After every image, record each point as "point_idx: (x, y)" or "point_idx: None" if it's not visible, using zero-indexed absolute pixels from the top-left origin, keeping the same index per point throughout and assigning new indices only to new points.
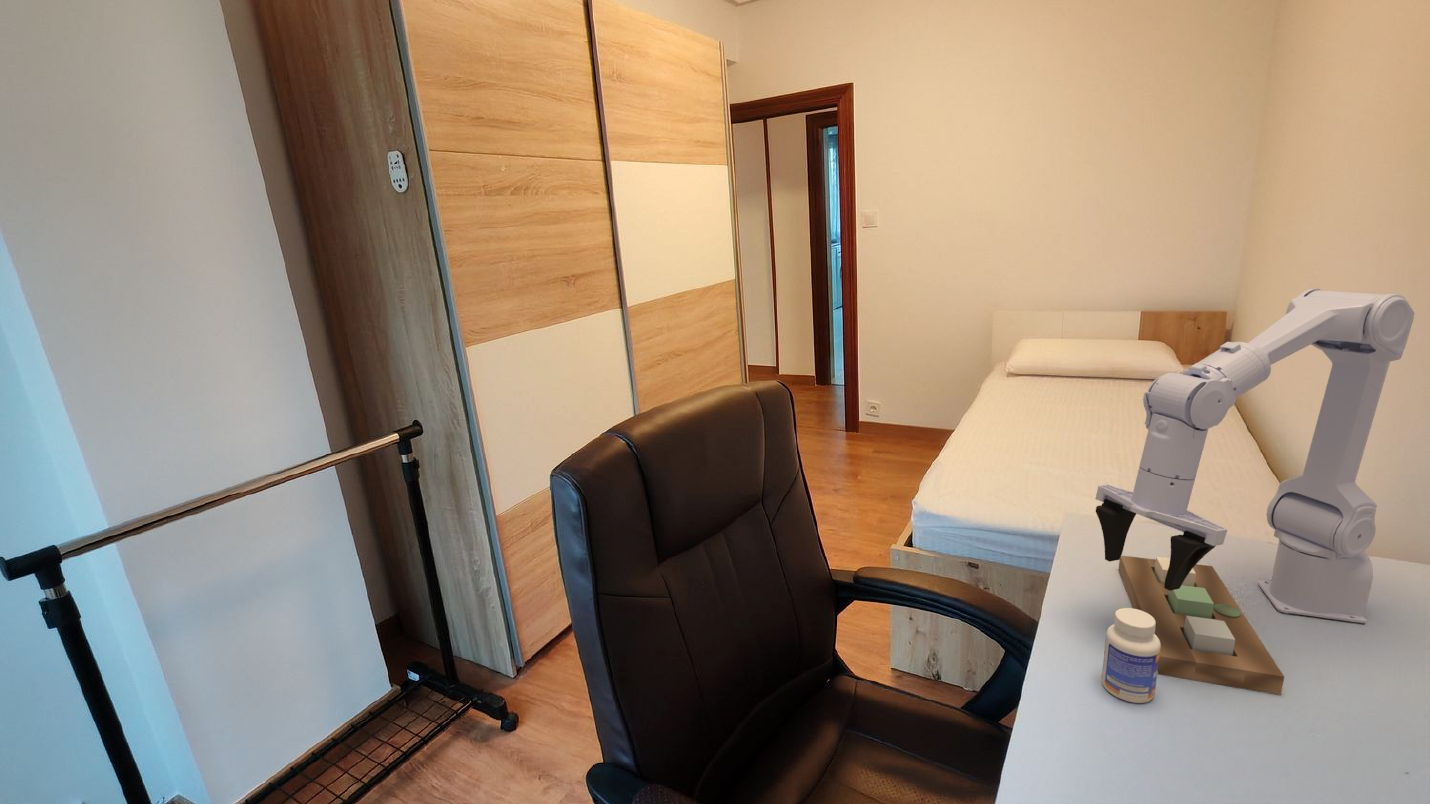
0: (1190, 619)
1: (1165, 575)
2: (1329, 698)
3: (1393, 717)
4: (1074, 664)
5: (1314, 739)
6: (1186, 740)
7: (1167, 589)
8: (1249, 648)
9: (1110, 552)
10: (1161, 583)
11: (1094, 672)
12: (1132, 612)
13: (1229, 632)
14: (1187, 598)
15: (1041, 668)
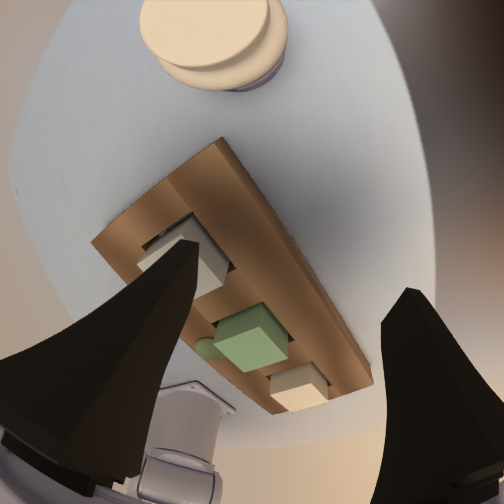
0: (212, 277)
1: (306, 376)
2: (86, 261)
3: (55, 270)
4: (339, 51)
5: (56, 169)
6: (128, 21)
7: (188, 240)
8: None
9: (419, 312)
10: (308, 361)
11: (302, 53)
12: (220, 28)
13: None
14: (248, 336)
15: (370, 5)
